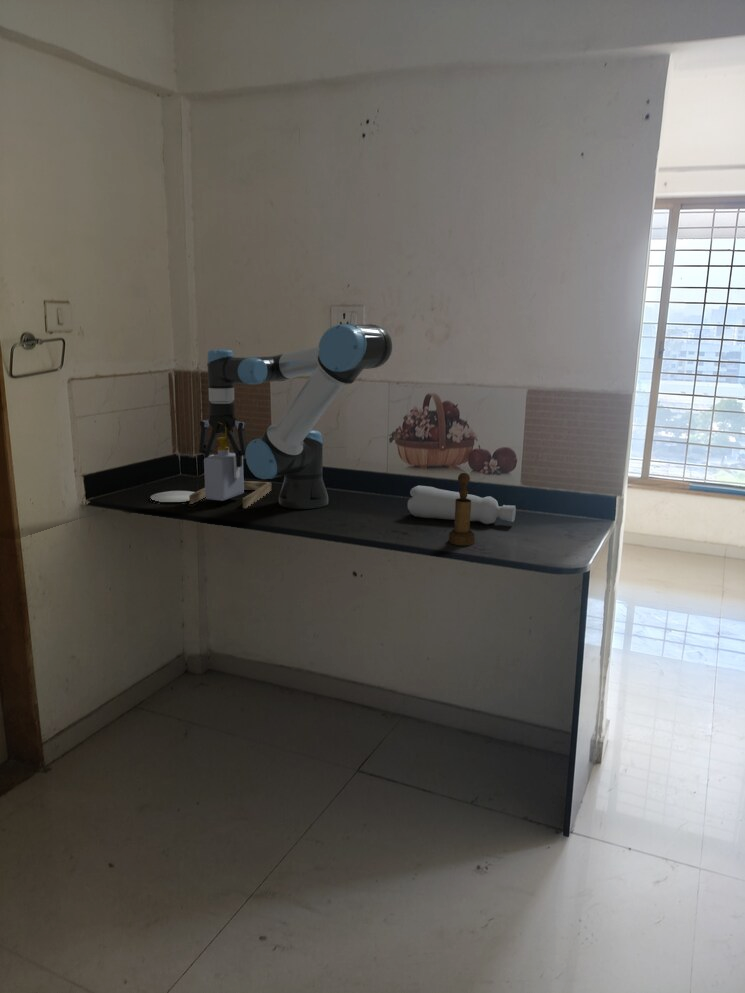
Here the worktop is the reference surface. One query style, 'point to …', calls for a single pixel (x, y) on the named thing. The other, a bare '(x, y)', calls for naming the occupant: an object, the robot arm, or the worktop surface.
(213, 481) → the soap bottle
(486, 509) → the bottle
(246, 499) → the frame
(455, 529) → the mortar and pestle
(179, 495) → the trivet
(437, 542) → the worktop surface
